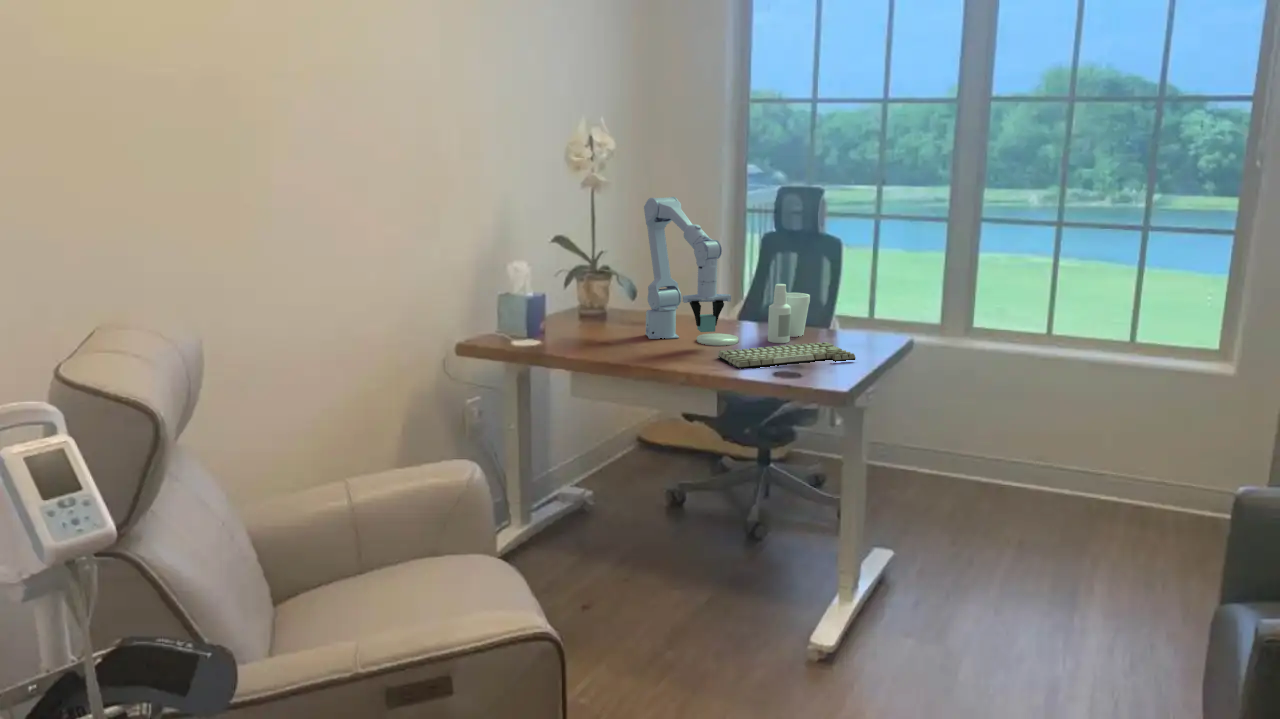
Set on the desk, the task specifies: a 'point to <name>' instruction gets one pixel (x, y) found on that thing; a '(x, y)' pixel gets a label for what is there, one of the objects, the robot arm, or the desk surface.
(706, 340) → the dish
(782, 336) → the spray bottle
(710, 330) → the teal block
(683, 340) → the desk surface
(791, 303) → the foam cup
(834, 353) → the mechanical keyboard
